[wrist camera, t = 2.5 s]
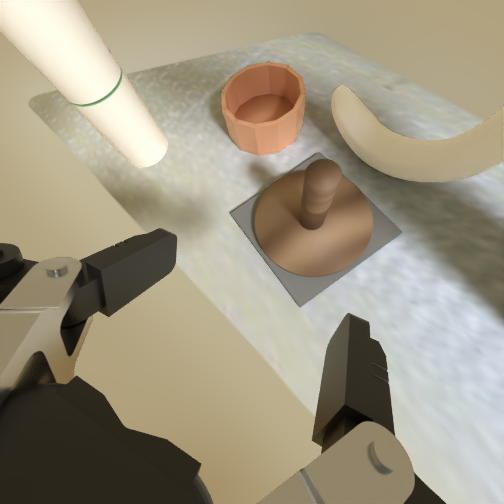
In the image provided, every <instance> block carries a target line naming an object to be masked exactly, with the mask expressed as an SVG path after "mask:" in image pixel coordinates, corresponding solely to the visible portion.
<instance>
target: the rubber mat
mask: <svg viewBox="0 0 504 504" xmlns="http://www.w3.org/2000/svg"><path fill="white" fill-rule="evenodd" d="M318 159H326V158H325V157H324V156H323V155H322V154H321V153H320V152H319V153H317V154H316V155H314V156H313V157H311V158H310V159H308V160H307V161H306V162H304V163H303V164H301V165H300V166H298V167H297V168H295V169H294V170H293V171H291V172H290V173H288V174H287V175H289V174H291V173H294V172H298V171H303V170H306V168H307V167H308V165H309V164H310V163H312V162H313V161H315V160H318ZM285 176H286V175H285ZM342 177H344V178H346V177H345V176H344V175H343V174H342ZM346 179H347V178H346ZM269 187H270V186H269ZM269 187H268V188H269ZM268 188H266V189H265V190H264V191H262V192H261V193H259V194H258V195H256V196H255V197H253V198H252V199H250V200H249V201H248V202H246V203H245V204H243V205H242V206H240V207H239V208H237V209H236V210H235V211H233V212H232V213H230V214H231V216H232V217H233V218H234V220H235V221H236V222H237V224H238V225H239V226H240V228H241V229H242V230H243V232H244V233H245V234H246V236H247V237H248V238H249V240H250V241H251V242H252V244H253V245H254V247H255V248H256V249H257V251H258V252H259V253H260V255H261V256H262V257H263V259H264V260H265V261H266V263H267V264H268V265H269V267H270V268H271V269H272V271H273V272H274V273H275V275H276V276H277V277H278V279H279V280H280V281H281V283H282V284H283V285H284V287H285V288H286V289H287V291H288V292H289V293H290V295H291V296H292V298H293V299H294V300H295V302H296V303H297V304H298V306H299V307H301V306H303V305H304V304H305V303H307V302H308V301H310V300H311V299H312V298H314V297H315V296H316V295H318V294H319V293H320V292H322V291H323V290H325V289H326V288H327V287H329V286H330V285H331V284H333V283H334V282H336V281H337V280H338V279H340V278H341V277H342V276H344V275H345V274H346V273H348V272H349V271H351V270H352V269H353V268H355V267H356V266H357V265H359V264H360V263H361V262H363V261H364V260H366V259H367V258H368V257H370V256H371V255H372V254H374V253H375V252H376V251H378V250H379V249H381V248H382V247H383V246H385V245H386V244H387V243H389V242H390V241H391V240H393V239H394V238H396V237H397V236H398V235H400V234H401V233H402V231H401V230H400V229H399V228H398V227H397V226H396V225H395V224H394V223H393V222H392V221H391V220H390V219H389V218H388V217H386V216H385V215H384V214H383V213H382V212H381V211H380V210H379V209H378V208H377V207H376V206H375V205H374V204H373V203H372V202H371V201H370V200H369V199H368V198H367V197H366V196H365V195H364V196H365V197H366V199H367V201H368V203H369V205H370V208H371V211H372V216H373V230H372V235H371V238H370V241H369V243H368V245H367V247H366V249H365V250H364V252H363V253H362V254H361V255H360V257H359V258H358V259H357V260H356V261H354V262H353V263H352V264H351V265H350V266H348V267H347V268H345V269H343V270H341V271H339V272H337V273H334V274H331V275H328V276H322V277H305V276H300V275H296V274H293V273H290V272H288V271H286V270H284V269H282V268H280V267H279V266H277V265H276V264H275V263H274V262H272V261H271V260H270V259H269V257H268V256H267V255H266V254H265V252H264V251H263V249H262V248H261V246H260V243H259V241H258V238H257V235H256V230H255V213H256V209H257V206H258V204H259V201H260V199H261V198H262V196H263V194H264V193H265V192H266V190H267V189H268Z"/></svg>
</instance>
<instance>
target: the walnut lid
mask: <svg viewBox="0 0 504 504" xmlns="http://www.w3.org/2000/svg"><path fill="white" fill-rule="evenodd" d="M255 230H256V235H257V238H258V241H259V243H260V246H261V248H262V249H263V251H264V252H265V254H266V255H267V256H268V257H269V259H270V260H271V261H272V262H274V263H275V264H276V265H277V266H279V267H280V268H282V269H284V270H286V271H288V272H290V273H293V274H296V275H300V276H305V277H322V276H328V275H331V274H334V273H337V272H339V271H341V270H343V269H345V268H347V267H348V266H350V265H351V264H352V263H353V262H354V261H356V260H357V259H358V258H359V257H360V255H361V254H362V253H363V252H364V250H365V249H366V247H367V245H368V243H369V241H370V238H371V235H372V230H373V216H372V211H371V208H370V205H369V203H368V201H367V199H366V197H365V196H364V194H363V193H362V192H361V191H360V189H359V188H358V187H357V186H356V185H354V184H353V183H352V182H351V181H349V180H348V179H346V178H344V177H342V172H341V169H340V167H339V165H338V164H337V163H335V162H334V161H332V160H329V159H318V160H315V161H313V162H312V163H310V164H309V165H308V167H307V168H306V170H303V171H298V172H294V173H291V174H289V175H286V176H284V177H282V178H281V179H279V180H277V181H276V182H275V183H274V184H272V185H271V186H270V187H269V188H268V189H267V190H266V192H265V193H264V194H263V196H262V198H261V199H260V201H259V204H258V206H257V209H256V213H255Z"/></svg>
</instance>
